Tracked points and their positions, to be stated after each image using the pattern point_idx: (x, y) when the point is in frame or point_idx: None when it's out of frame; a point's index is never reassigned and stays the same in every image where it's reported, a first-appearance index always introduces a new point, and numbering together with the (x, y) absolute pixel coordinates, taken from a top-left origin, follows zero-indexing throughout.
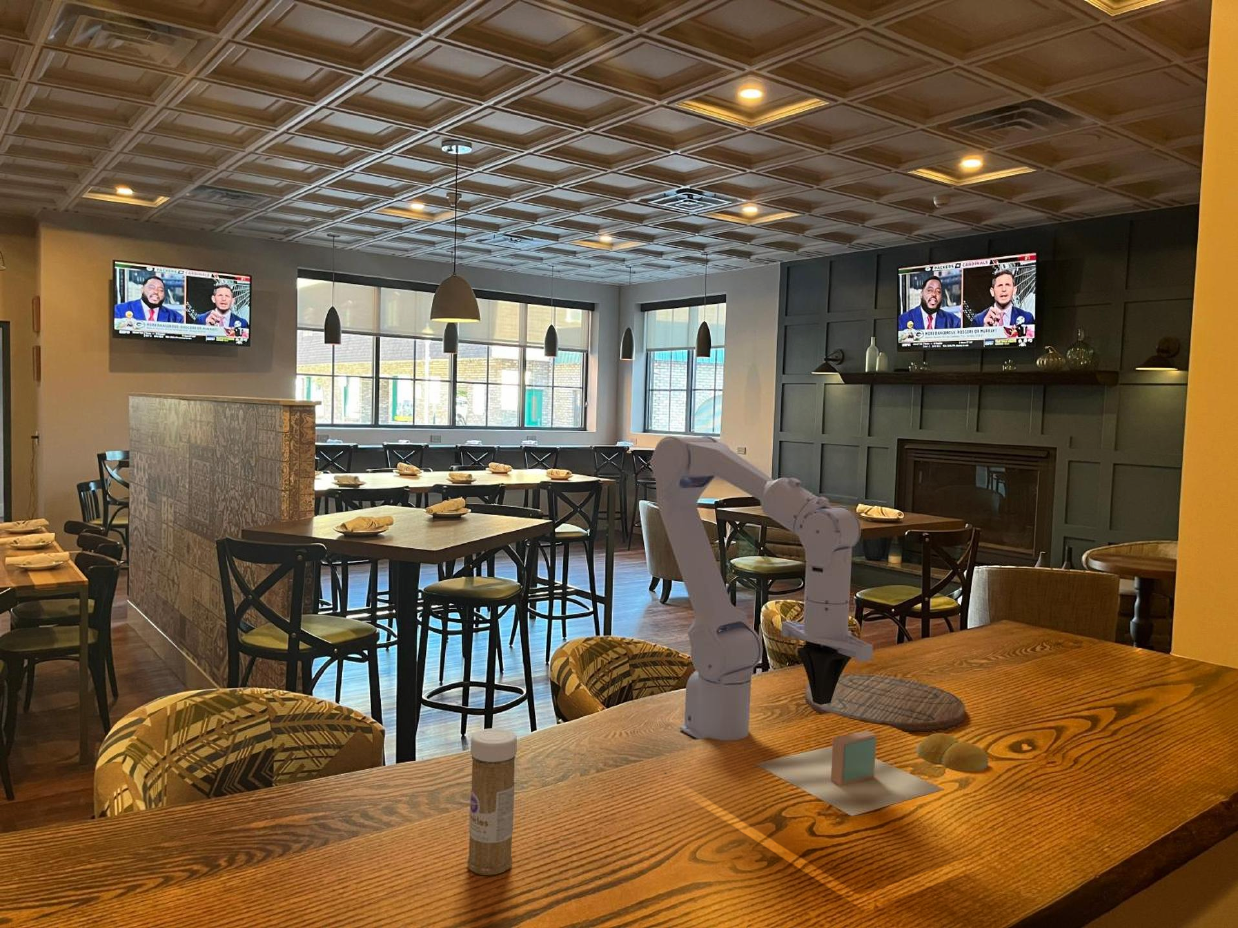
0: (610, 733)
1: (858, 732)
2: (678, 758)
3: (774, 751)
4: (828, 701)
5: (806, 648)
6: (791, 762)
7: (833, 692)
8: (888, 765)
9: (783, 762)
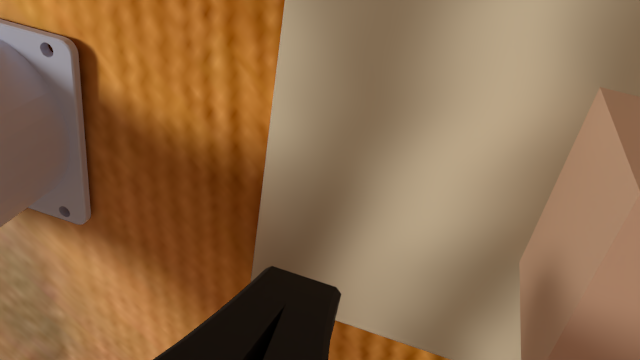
0: None
1: (605, 263)
2: (93, 319)
3: (169, 84)
4: (333, 321)
5: None
6: (313, 206)
7: (329, 343)
8: None
9: (296, 224)
